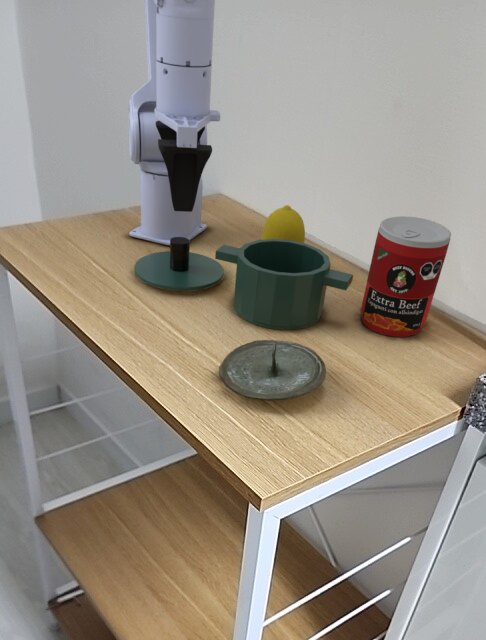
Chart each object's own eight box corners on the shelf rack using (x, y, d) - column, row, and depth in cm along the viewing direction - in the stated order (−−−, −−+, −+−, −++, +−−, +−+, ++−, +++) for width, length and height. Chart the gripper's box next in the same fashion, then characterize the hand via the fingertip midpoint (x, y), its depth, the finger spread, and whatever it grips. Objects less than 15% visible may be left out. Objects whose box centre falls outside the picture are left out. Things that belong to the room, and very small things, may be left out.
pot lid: (160, 252, 86) (160, 217, 83) (236, 271, 84) (239, 235, 81) (117, 282, 78) (116, 244, 75) (200, 303, 76) (202, 266, 73)
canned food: (352, 329, 74) (373, 232, 66) (366, 302, 79) (386, 210, 72) (419, 344, 72) (448, 247, 65) (427, 315, 78) (455, 224, 71)
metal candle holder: (337, 404, 64) (352, 357, 62) (275, 418, 57) (290, 365, 55) (260, 365, 70) (271, 320, 67) (195, 373, 63) (205, 323, 60)
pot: (233, 278, 82) (237, 227, 78) (352, 308, 78) (363, 256, 74) (198, 310, 74) (200, 255, 70) (328, 344, 70) (339, 289, 66)
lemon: (297, 278, 83) (306, 215, 78) (255, 272, 84) (262, 209, 79) (302, 262, 87) (311, 202, 82) (262, 256, 88) (269, 196, 83)
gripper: (230, 77, 61) (221, 222, 70) (215, 54, 72) (209, 181, 81) (156, 72, 60) (156, 220, 69) (152, 49, 71) (153, 179, 80)
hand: (181, 199), depth 75 cm, fingers open, 7 cm apart
